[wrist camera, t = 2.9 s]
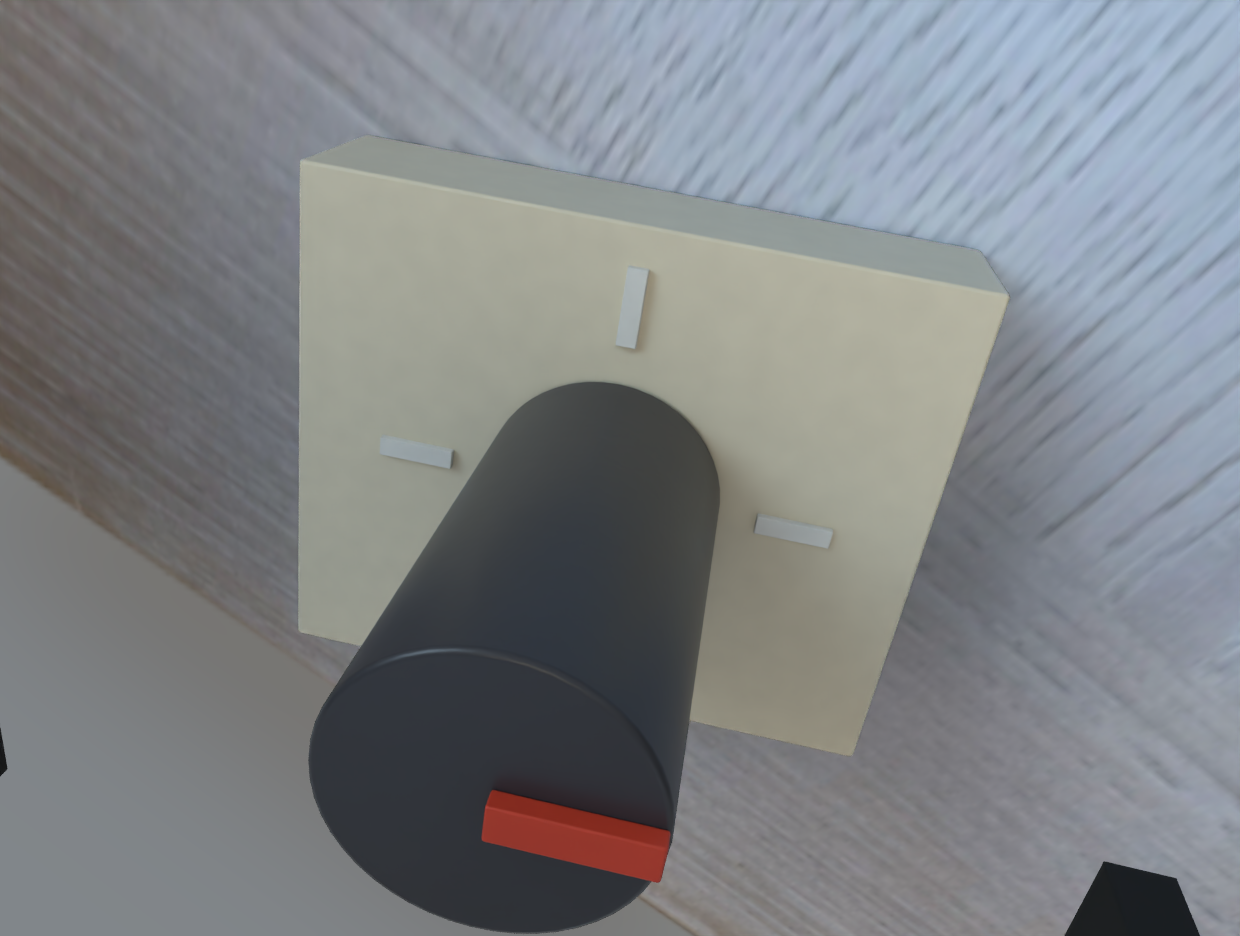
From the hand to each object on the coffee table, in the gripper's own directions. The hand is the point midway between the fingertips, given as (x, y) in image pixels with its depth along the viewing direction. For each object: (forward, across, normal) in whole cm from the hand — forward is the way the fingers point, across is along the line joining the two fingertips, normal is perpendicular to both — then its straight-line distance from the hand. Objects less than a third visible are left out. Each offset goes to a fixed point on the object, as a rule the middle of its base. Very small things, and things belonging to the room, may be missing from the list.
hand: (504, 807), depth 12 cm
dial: (+8, 0, 0) cm, 8 cm away
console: (+11, 0, 0) cm, 11 cm away
